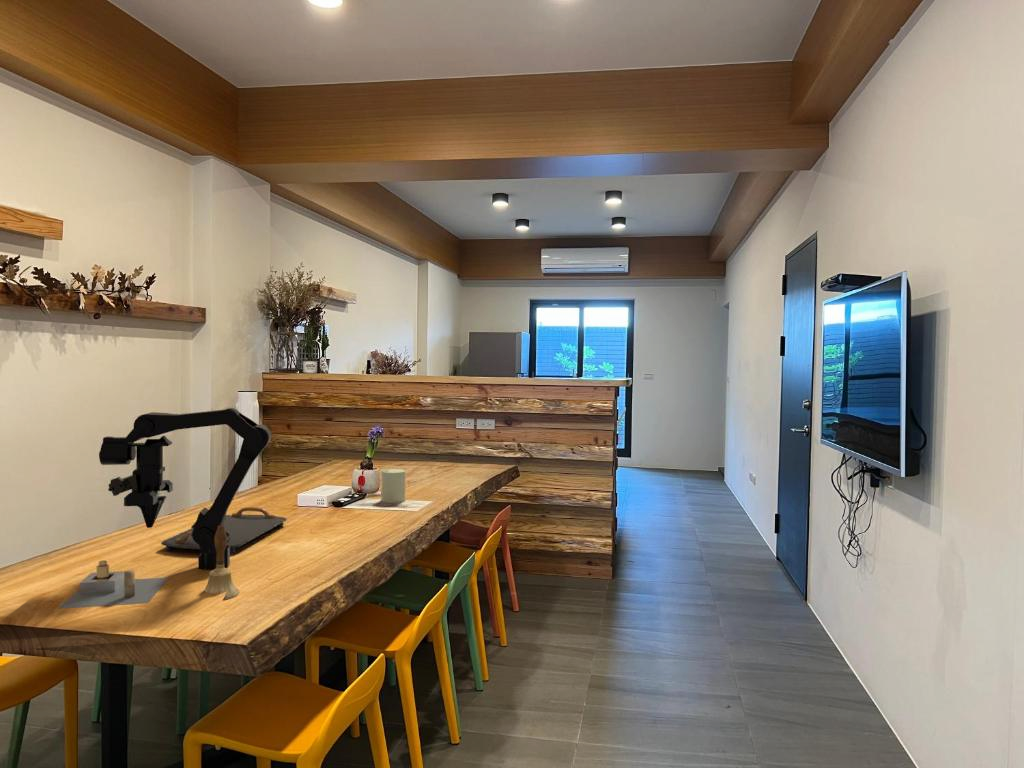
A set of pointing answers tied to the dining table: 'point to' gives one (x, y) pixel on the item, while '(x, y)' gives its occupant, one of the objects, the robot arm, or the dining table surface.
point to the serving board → (232, 529)
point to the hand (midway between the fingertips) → (149, 527)
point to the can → (393, 485)
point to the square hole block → (101, 583)
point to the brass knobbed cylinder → (103, 570)
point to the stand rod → (129, 583)
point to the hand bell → (221, 569)
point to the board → (117, 595)
